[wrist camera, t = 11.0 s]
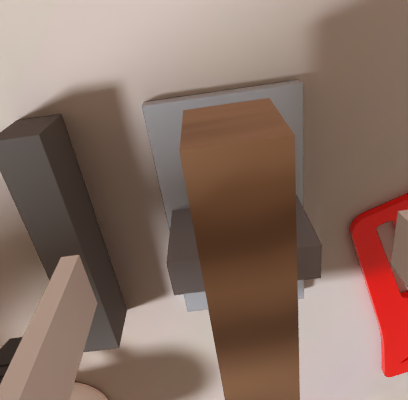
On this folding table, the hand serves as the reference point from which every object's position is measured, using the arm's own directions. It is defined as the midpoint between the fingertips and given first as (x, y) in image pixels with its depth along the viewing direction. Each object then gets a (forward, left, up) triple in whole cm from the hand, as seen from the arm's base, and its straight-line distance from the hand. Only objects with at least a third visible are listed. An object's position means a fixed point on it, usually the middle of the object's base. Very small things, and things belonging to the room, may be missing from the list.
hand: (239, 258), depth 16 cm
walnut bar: (0, -5, -5) cm, 7 cm away
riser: (-12, -5, -12) cm, 17 cm away
